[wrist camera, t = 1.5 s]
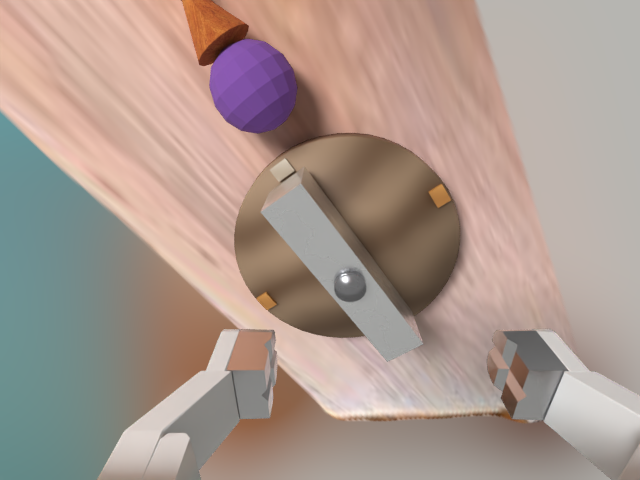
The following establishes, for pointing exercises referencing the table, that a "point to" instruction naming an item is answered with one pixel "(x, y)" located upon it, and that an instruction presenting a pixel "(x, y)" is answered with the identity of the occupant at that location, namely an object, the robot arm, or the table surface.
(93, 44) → the table surface
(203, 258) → the table surface
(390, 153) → the lock plate
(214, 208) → the table surface
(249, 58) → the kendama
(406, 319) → the bar
